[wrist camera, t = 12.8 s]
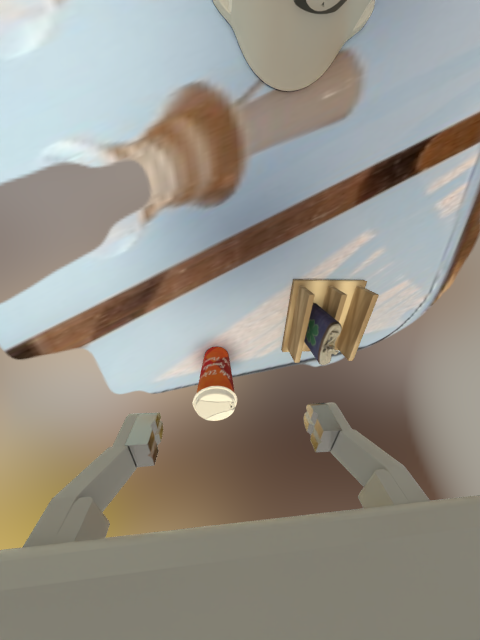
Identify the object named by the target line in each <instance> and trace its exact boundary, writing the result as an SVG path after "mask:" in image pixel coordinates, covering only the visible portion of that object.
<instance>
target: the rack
mask: <svg viewBox="0 0 480 640" xmlns="http://www.w3.org/2000/svg"><path fill="white" fill-rule="evenodd" d="M366 283H367V281H365V280H297V279H293V283H292V289H291V295H290V301H289V307H288V313H287V319H286V325H285V331H284V337H283V343H282V349H281V350H282V352H290V354H291V356H292V358H293V360H294V362H295V363H296V362H300V358H301V353H302V351H310V349H309V348H308V346H307V345H306V344H305V342H304V340H305V336H306V331H307V327H308V323H309V318H310V314H311V310H312V305H313V303H316V304H317V305H319V306H320V307H321V308H322V309H323V310H325V311H326V312H327V313H328V314H329V315H331V316H332V317H333V318H334V319H335V320H337V321H338V322H339V323H340V324H341V327H342V330H341V333H340V335H339V336H338V337H337V339H336V341H335V348H334V349H336V350H339V351H340V352H341V353H342V354H343V355H344V356H345V357H346V358H347V359H348V361H352V360H353V359H354V356H355V354H356V351H357V349H358V346H359V344H360V341H361V339H362V336H363V334H364V331H365V329H366V326H367V323H368V321H369V318H370V316H371V313H372V311H373V308H374V306H375V303H376V301H377V298H378V294H376V293H374V292H372V291H370V290H368V289H365V286H366Z"/></svg>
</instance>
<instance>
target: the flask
mask: <svg viewBox="0 0 480 640" xmlns="http://www.w3.org/2000/svg"><path fill="white" fill-rule="evenodd" d="M341 330H342V327H341V324H340V323H339V322H338V321H337V320H335V319H334V318H333V317H332V316H331V315H329V314H328V313H327V312H326V311H325V310H323V309H322V308H321V307H320V306H319V305H317V304H316V303H313V305H312V310H311V314H310V318H309V323H308V327H307V331H306V336H305V340H304V342H305V344H306V345H307V346H308V348H309V349H310V351H311V352H312V353H313V355H314V356H315V358H316V359H317V361H318V362H319V364H321V365H326V364H328V363H330V361H331V356H332V354H333V353H334V355H336V354H337V353H338V351H335V350H336V349H334V348H335V341H336V339H337V337H338V336H339V335H340V333H341Z"/></svg>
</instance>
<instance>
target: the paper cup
mask: <svg viewBox="0 0 480 640" xmlns="http://www.w3.org/2000/svg"><path fill="white" fill-rule="evenodd" d="M236 404H237V397H236V395H235V393H234V387H233V380H232V374H231V367H230V361H229V356H228V353H227V351H226V350H225V349H224V348H221V347H212V348H210V349H208V350H207V351H206V353H205V356H204V360H203V365H202V369H201V374H200V379H199V384H198V389H197V394H196V395H195V397H194V400H193V407H194V409H195V411H196V412H197V413H198V415H199V416H201V417H202V418H204V419H206V420H212V421H216V420H222V419H225V418H227V417H228V416H230V415H231V414H232V413H233V411H234V409H235V406H236Z"/></svg>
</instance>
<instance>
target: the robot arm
mask: <svg viewBox="0 0 480 640" xmlns="http://www.w3.org/2000/svg"><path fill="white" fill-rule="evenodd" d="M213 2H214V4H215V6H216V7H217V9H218V10H219V12H220V13H221V14H222V16H223V17H224V18H225V19H226V20H227V21H228V23H229V24H230V25H231V27H232V28H233V30H234V33H235V35H236V38H237V40H238V43H239V45H240V48H241V50H242V53H243V55H244V57H245V59H246V61H247V62H248V64H249V66H250V67H251V69H252V70H253V71H254V73H255V74H256V75H257V76H258V77H259V78H260V79H261V80H262V81H263V82H265V83H266V84H268V85H269V86H271V87H273V88H275V89H278V90H283V91H295V90H299V89H302V88H305V87H307V86H309V85H310V84H312V83H313V82H315V81H316V80H317V79H318V78H320V77H321V76H322V75H323V74H324V72H325V71H326V70H327V69H328V68H329V66H330V65H331V64H332V62H333V61H334V59H335V57H336V56H337V54H338V52H339V51H340V49H341V48H342V46H343V45H344V44H345V42H346V41H347V40H349V39H350V38H351V37H352V36H354V35H355V34H356V33H357V32H359V31H360V30H361V29H362V28H363V27H364V25H365V24H366V22H367V21H368V19H369V17H370V16H371V14H372V12H373V9H374V4H375V0H213ZM306 409H307V412H306V413H305V414H304V424H305V428H306V430H307V432H308V433H309V434H310V435H311V439H310V440H311V443H312V445H313V447H314V450H315V452H329V451H331V453H332V454H333V455H334V456H335V457H336V458H337V460H338V461H339V462H341V464H342V465H343V466H344V467H345V468H346V469H347V470H348V471H349V472H350V473H351V474H352V475H353V476H354V477H355V478H356V479H357V480H358V481H359V482H360V483H361V484H362V486H363V487H364V488H363V489H362V491H361V492H360V494H359V496H358V498H359V500H360V502H361V504H362V506H363V509H355V510H346V511H338V512H329V513H319V514H311V515H302V516H294V517H284V518H277V519H268V520H258V521H249V522H241V523H232V524H223V525H215V526H206V527H197V528H188V529H181V530H171V531H163V532H154V533H145V534H136V535H128V536H119V537H110V538H105V536H106V533H107V531H108V528H109V525H110V524H109V521H108V520H107V518H106V517H105V516H104V514H103V513H102V512H103V511H104V509H105V508H106V507H107V506H108V504H109V503H110V502H111V501H112V499H113V498H114V497H115V495H116V494H117V493H118V492H119V490H120V489H121V487H122V486H123V485H124V484H125V483H126V481H127V480H128V479H129V478H130V476H131V475H132V473H133V472H134V471H135V470H136V467H143V466H153V465H155V462H156V458H157V455H158V447H157V445H158V444H159V443H160V442H161V439H162V435H163V423H162V422H161V421H160V419H161V415H160V413H143V414H142V413H140V414H129V415H128V416H127V417H126V419H125V421H124V423H123V425H122V427H121V429H120V431H119V434H118V436H117V438H116V440H115V442H114V444H113V446H112V447H109V448H108V449H106V451H104V452H103V453H102V454H101V455H100V456H99V457H98V458H97V459H95V460H94V461H93V462H92V463H91V464H90V465H89V466H88V467H87V468H86V469H84V470H83V471H82V472H81V473H80V474H79V475H78V476H77V477H76V478H75V479H73V480H72V481H71V482H70V483H69V484H68V485H67V486H66V487H65V488H63V489H62V490H61V491H60V492H59V493H58V494H57V495H56V496H55V497H54V498H52V500H51V501H50V503H49V505H48V506H47V508H46V510H45V511H44V513H43V515H42V516H41V518H40V520H39V521H38V523H37V524H36V526H35V528H34V529H33V531H32V533H31V534H30V536H29V538H28V539H27V541H26V542H25V544H24V546H23V547H22V548H15V549H6V550H0V640H480V495H477V496H468V497H459V498H450V499H442V500H433V501H430V500H429V499H428V497H427V496H426V495H425V493H424V492H423V491H422V489H421V488H420V487H419V485H418V484H417V483H416V481H415V480H414V479H413V477H412V476H411V474H410V473H409V472H408V471H407V469H406V468H405V466H403V465H402V464H401V463H399V462H398V461H396V460H395V459H394V458H392V457H391V456H390V455H388V454H387V453H386V452H384V451H383V450H382V449H380V448H379V447H377V446H376V445H375V444H374V443H372V442H371V441H369V440H368V439H367V438H365V437H364V436H363V435H361V434H360V433H359V432H357V431H356V430H352V429H351V427H350V426H349V424H348V422H347V421H346V419H345V418H344V416H343V414H342V413H341V411H340V410H339V408H338V407H337V405H336V404H335V403H316V404H308V405H307V407H306Z"/></svg>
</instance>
